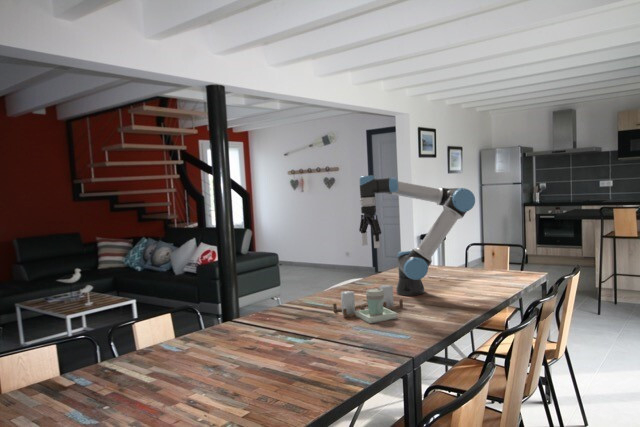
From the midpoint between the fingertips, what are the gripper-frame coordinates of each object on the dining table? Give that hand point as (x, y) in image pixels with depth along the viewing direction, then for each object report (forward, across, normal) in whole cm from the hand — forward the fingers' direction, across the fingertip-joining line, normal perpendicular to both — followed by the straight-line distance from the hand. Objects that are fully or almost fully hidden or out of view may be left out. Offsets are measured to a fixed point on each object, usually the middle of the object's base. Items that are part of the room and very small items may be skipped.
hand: (370, 246), depth 248 cm
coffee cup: (+28, +27, -13) cm, 41 cm away
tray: (+29, +27, -13) cm, 41 cm away
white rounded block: (+29, +13, 0) cm, 32 cm away
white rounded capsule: (+29, +13, -20) cm, 38 cm away
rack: (+29, +13, -10) cm, 33 cm away
